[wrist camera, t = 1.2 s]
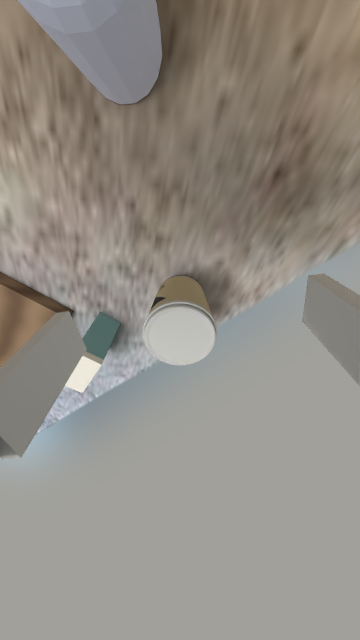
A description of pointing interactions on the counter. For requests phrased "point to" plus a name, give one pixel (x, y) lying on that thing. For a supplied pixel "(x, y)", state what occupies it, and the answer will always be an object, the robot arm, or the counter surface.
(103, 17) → the soap bottle
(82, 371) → the block
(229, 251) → the counter surface
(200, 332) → the white-capped cylinder
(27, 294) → the board
